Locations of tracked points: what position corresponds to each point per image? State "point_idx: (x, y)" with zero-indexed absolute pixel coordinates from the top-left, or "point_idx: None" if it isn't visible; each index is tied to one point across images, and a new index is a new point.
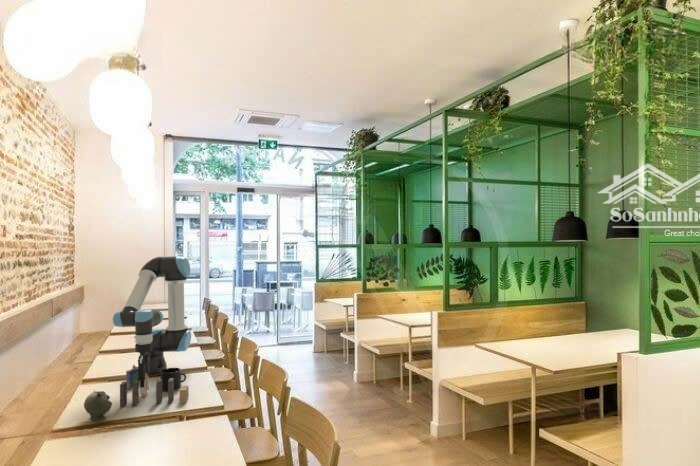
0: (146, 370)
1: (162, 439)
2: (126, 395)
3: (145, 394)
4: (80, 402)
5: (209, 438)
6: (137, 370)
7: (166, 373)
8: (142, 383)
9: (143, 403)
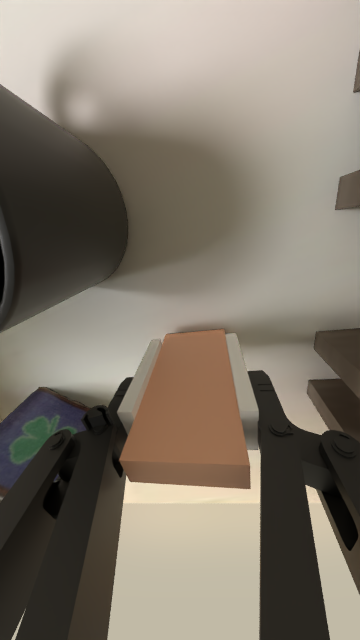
0: (106, 497)
1: None
2: (347, 419)
3: (204, 334)
4: (240, 494)
5: None
6: (2, 477)
7: (13, 224)
8: (276, 403)
9: (348, 300)
